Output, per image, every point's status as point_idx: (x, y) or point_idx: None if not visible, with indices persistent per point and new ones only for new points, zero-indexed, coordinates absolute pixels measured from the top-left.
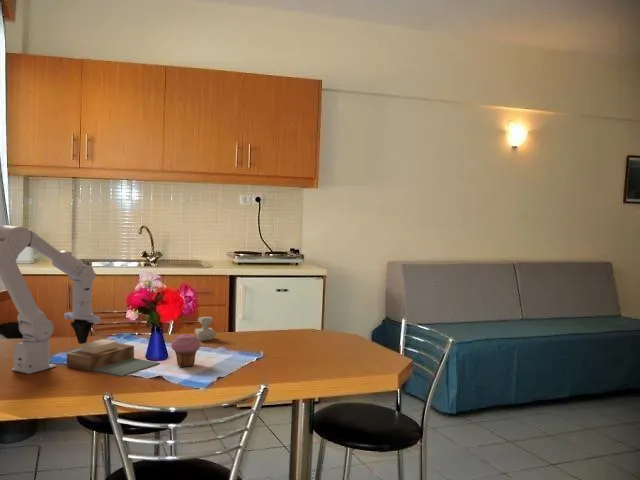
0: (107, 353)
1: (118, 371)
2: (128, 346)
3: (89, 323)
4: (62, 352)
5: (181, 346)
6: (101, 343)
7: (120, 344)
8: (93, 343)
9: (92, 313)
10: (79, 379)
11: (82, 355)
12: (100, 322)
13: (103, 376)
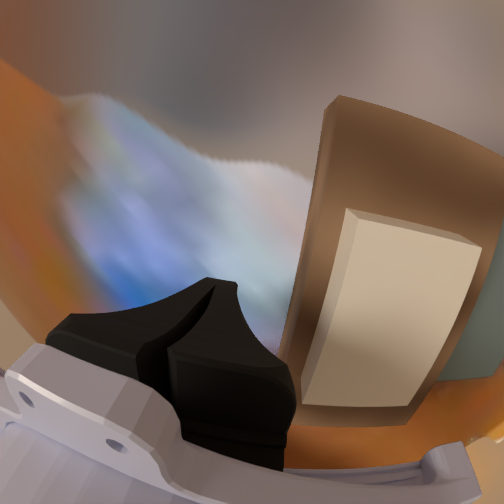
0: (451, 350)
1: (481, 357)
2: (499, 186)
3: (278, 436)
4: (73, 204)
5: None
6: (415, 340)
7: (440, 147)
8: (364, 361)
9: (108, 437)
10: (395, 435)
11: (359, 419)
12: (460, 446)
13: (448, 397)
